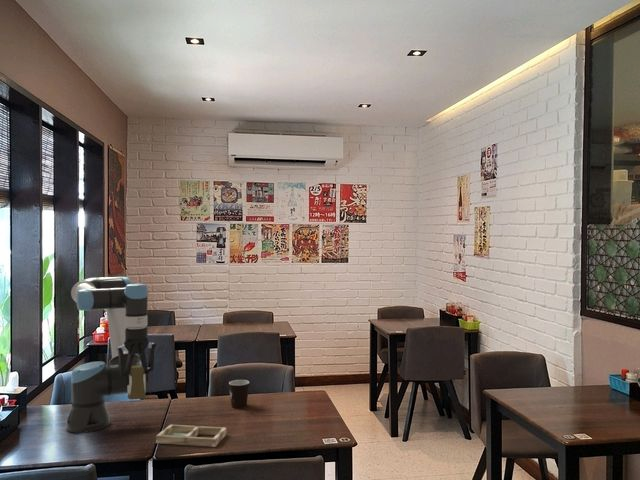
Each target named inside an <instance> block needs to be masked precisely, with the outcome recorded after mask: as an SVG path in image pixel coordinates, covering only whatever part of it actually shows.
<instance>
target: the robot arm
mask: <svg viewBox="0 0 640 480" xmlns="http://www.w3.org/2000/svg"><path fill="white" fill-rule="evenodd" d="M148 295H149V292H148V285H147V284H145V283H132V280H131V279H130V278H129V277H128V276H120V275H118V276H104V277H103V276H101V277H88V278H84V279H81V280H79V281H77V282H76V283H75V284H74V285H73V286H72V287H71V290H70V296H71V299H72V300H73V301H74V302H75V303H76V309H77V310H78V311H86V312H89V311H99V310H104V311H106V318H107V324H108V325H107V327H108V333H109V335H108V336H109V342H110V349H111V350H110V351H111V359H110V360H108V364H106V363H105V362H104V361H103V360H100V361H90V362H85V363H83V364H80V365H78V366H77V367H75V368H74V369H72V372H71V379H70V383H71V408H70V412H69V415H68V416H67V420H66V423H65V424H66V425H65V426H66V431H67V432H70V433H75V434H76V433H77V434H78V433H79V434H83V433H91V432H96V431H100V430H102V429H105V428H107V427H108V426H109V425H110V424H111V417H110V414H109V411H108V407H107V406H106V397H108V396H115V395H117V396H118V395H124V394H128V393H129V395H130V392H131V385H132V376H130V371H131V367H132V366H136V365H140V366H143V367H144V374H143V382H144V389H145V393H146V391H147V389H146V388H147V387H146V383H148V381H149V374H150V372H152V371H154V369H155V368H154V366H155V362H154V361H155V349H156V347H157V344H156V343H154V342H150V341H149V339H148V337H149V336H148V331H149V330H148V327H147V326H148V305H149V304H148V301H149V300H148V297H149V296H148ZM147 348H148V357H147V358H148V359H147V358H146V351H145V350H146V349H147ZM147 360H148V361H147Z"/></svg>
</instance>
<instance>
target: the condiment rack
mask: <svg viewBox="0 0 640 480" xmlns="http://www.w3.org/2000/svg"><path fill="white" fill-rule="evenodd" d="M198 435H206V436H207V435H208V436H209V435H211V436H214V437H204V436H203V437H201V436H198ZM226 436H227V427H222V426H205V425H204V426H203V425H188V424H173V423H172V424H169V425H168V426H167V427H165V428H164V429H163V430H162V431H160V432H158V433H157V435H155V444H166V445H178V446H179V445H180V446H181V445H182V446H196V447H211V448H213V447H214V448H215V447H217V446H218V445H219V443H220V442H221V441H222V440H223V439H224V438H225V437H226Z"/></svg>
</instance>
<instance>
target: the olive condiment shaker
mask: <svg viewBox="0 0 640 480" xmlns="http://www.w3.org/2000/svg"><path fill="white" fill-rule="evenodd" d="M143 374H144V367H143V366H140V365H136V366H132V367H131V371H130V376H132V385H131V392H130V395H129V393H127V399H129V400H139V399H144V398H146V392H145V389H144V382H143Z"/></svg>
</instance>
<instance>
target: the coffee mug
mask: <svg viewBox="0 0 640 480" xmlns="http://www.w3.org/2000/svg"><path fill="white" fill-rule="evenodd" d="M228 387H229V397H230V407H231V408H233V409H239V410H240V409H245V408H246V407H247V406H248V405H247V404H248V396H249V388H250V381H249V380H247V379H235V380H231V381H229V382H228Z"/></svg>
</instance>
